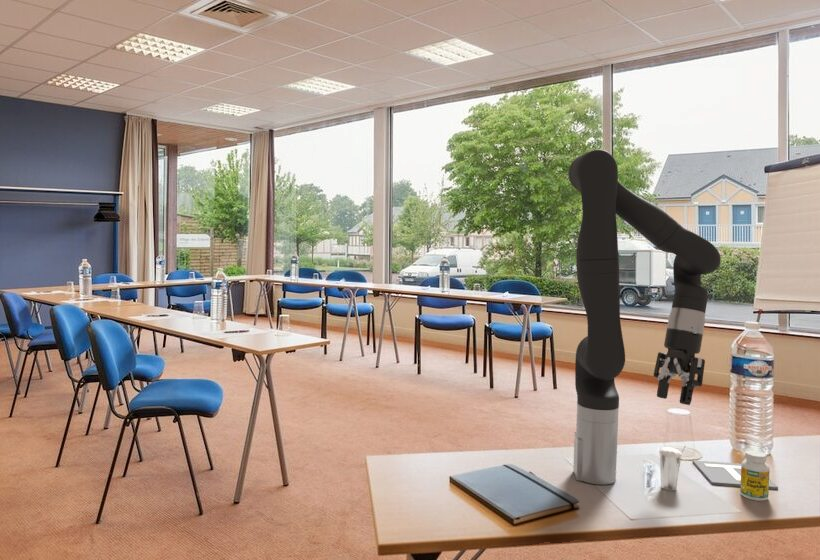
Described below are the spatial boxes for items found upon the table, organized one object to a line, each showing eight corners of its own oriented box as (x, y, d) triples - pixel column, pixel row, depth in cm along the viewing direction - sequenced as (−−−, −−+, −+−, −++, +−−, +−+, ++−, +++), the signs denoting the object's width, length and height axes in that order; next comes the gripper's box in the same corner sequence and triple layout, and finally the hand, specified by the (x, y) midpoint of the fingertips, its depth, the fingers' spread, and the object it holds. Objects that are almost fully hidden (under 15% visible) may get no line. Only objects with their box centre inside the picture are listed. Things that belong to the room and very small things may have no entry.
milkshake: (686, 493, 131) (688, 449, 130) (660, 491, 132) (662, 446, 131) (680, 485, 135) (683, 442, 135) (655, 483, 137) (657, 440, 136)
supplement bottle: (764, 493, 132) (766, 450, 131) (771, 503, 127) (773, 459, 126) (737, 489, 134) (739, 448, 133) (742, 499, 128) (745, 456, 128)
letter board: (711, 484, 136) (712, 481, 136) (692, 462, 150) (692, 459, 150) (778, 489, 134) (778, 486, 134) (752, 466, 148) (752, 464, 148)
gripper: (652, 325, 141) (640, 393, 140) (690, 328, 127) (677, 403, 126) (680, 332, 143) (668, 399, 141) (721, 335, 129) (708, 409, 127)
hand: (672, 401), depth 134 cm, fingers open, 8 cm apart
